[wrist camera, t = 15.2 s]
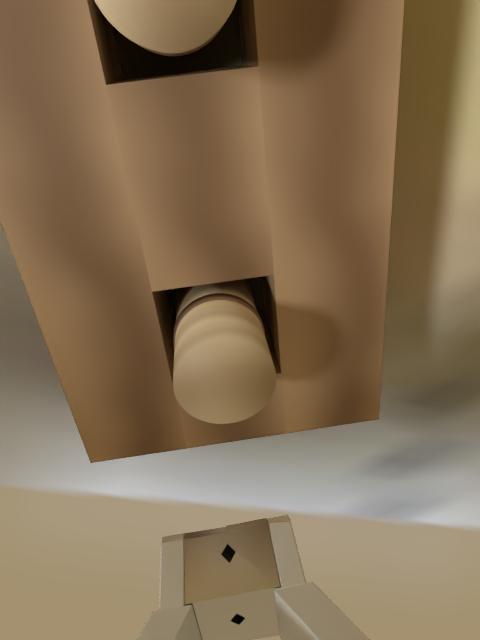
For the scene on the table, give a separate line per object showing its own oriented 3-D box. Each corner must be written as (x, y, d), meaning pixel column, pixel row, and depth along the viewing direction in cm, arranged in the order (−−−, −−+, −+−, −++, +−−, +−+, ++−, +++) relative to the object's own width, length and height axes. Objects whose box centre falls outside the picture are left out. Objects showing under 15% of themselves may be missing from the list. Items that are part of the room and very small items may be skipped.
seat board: (105, 402, 26) (90, 462, 22) (-94, -214, 14) (-203, -323, 10) (350, 366, 26) (378, 419, 22) (361, -259, 14) (427, -377, 10)
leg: (171, 258, 22) (164, 342, 15) (248, 251, 22) (277, 331, 15) (180, 326, 24) (177, 430, 17) (251, 319, 24) (278, 419, 17)
